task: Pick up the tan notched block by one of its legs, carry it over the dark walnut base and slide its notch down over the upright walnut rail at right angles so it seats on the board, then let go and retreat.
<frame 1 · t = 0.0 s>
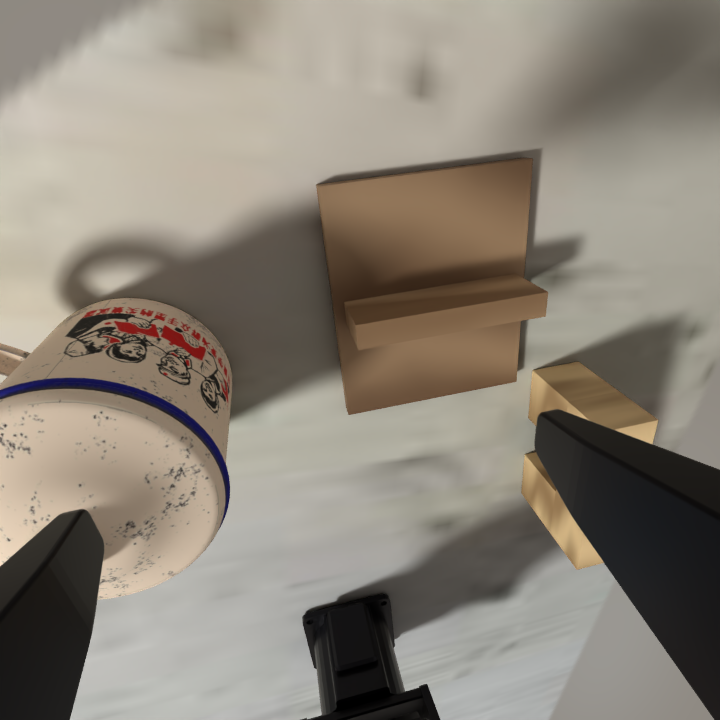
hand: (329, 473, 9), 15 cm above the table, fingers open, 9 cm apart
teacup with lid: (114, 363, 22), on the table
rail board: (427, 293, 24), on the table
tan notched block: (547, 431, 30), on the table
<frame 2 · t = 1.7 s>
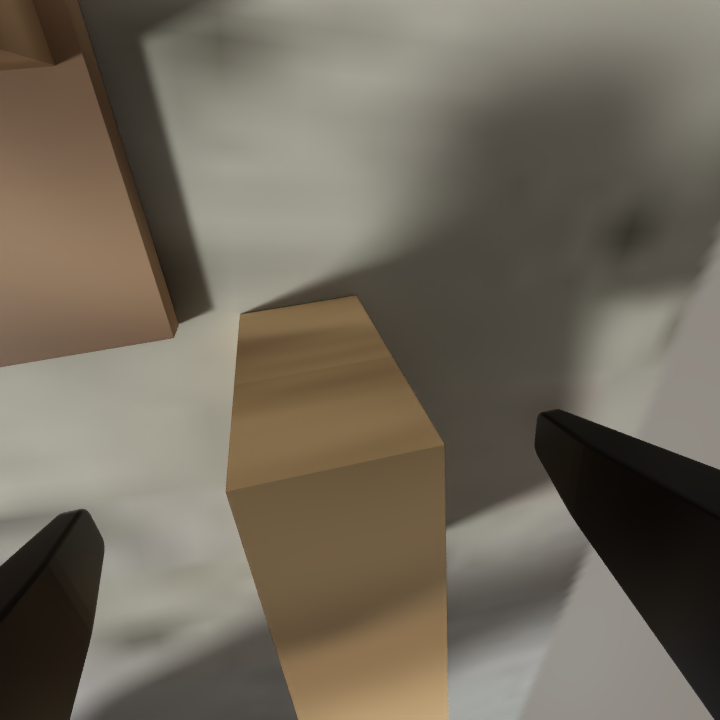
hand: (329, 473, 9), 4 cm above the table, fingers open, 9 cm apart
tan notched block: (325, 456, 14), on the table
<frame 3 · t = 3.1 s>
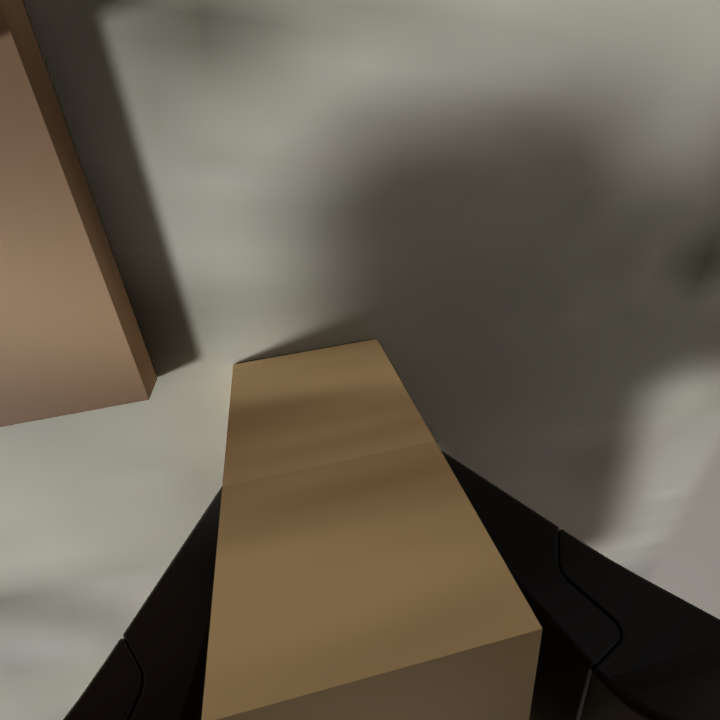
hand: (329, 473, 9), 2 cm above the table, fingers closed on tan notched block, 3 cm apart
tan notched block: (336, 522, 12), on the table, touching gripper
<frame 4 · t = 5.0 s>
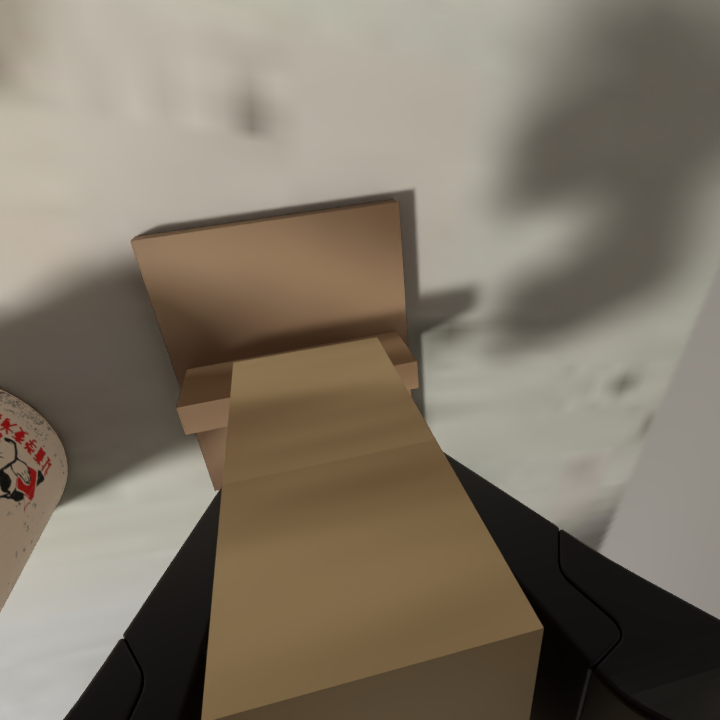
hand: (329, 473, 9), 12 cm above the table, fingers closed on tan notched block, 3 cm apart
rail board: (295, 354, 21), on the table
tan notched block: (335, 521, 12), point 10 cm above the table, touching gripper
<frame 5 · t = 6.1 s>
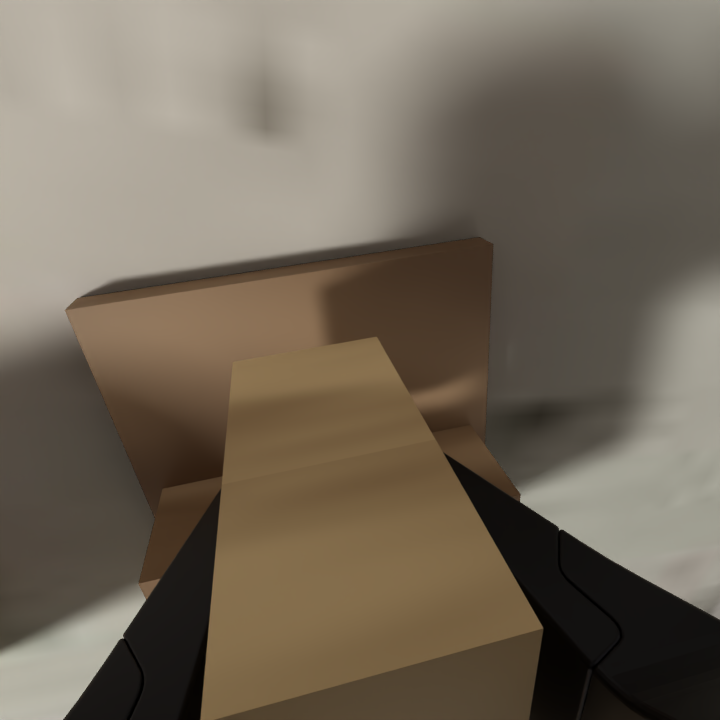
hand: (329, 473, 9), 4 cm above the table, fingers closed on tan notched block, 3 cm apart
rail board: (322, 454, 14), on the table
tan notched block: (335, 520, 12), point 3 cm above the table, touching gripper
when the fingers open (3 cm above the table, at t = 7.0 s): tan notched block stays where it is, resting on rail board.
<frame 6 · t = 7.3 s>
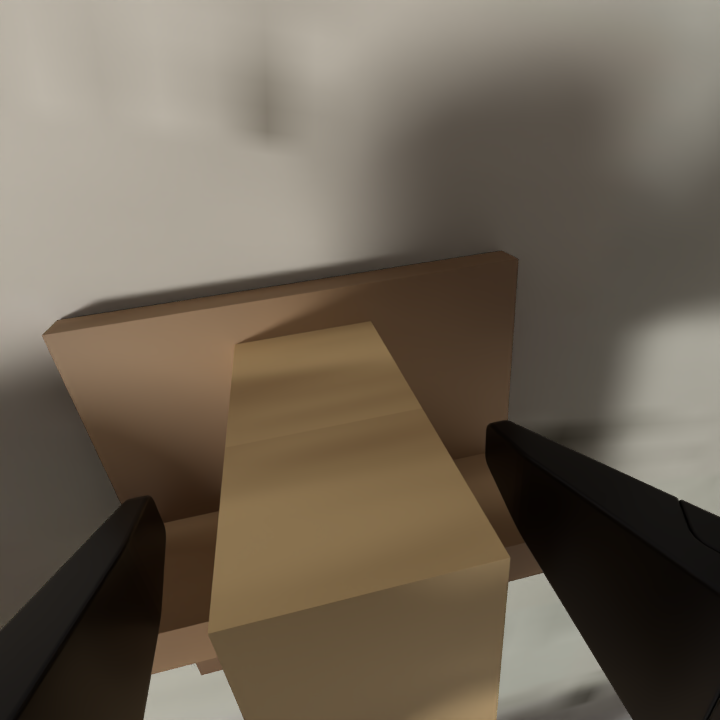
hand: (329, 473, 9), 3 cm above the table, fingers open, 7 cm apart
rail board: (328, 483, 13), on the table
tan notched block: (332, 500, 12), point 1 cm above the table, touching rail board
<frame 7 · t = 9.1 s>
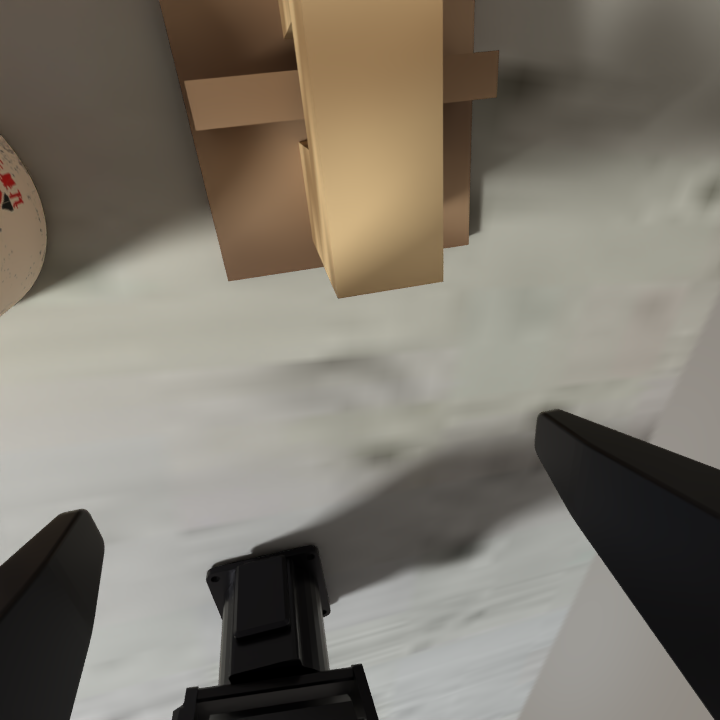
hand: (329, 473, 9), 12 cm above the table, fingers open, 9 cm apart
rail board: (331, 93, 16), on the table
tan notched block: (335, 88, 16), point 1 cm above the table, touching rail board
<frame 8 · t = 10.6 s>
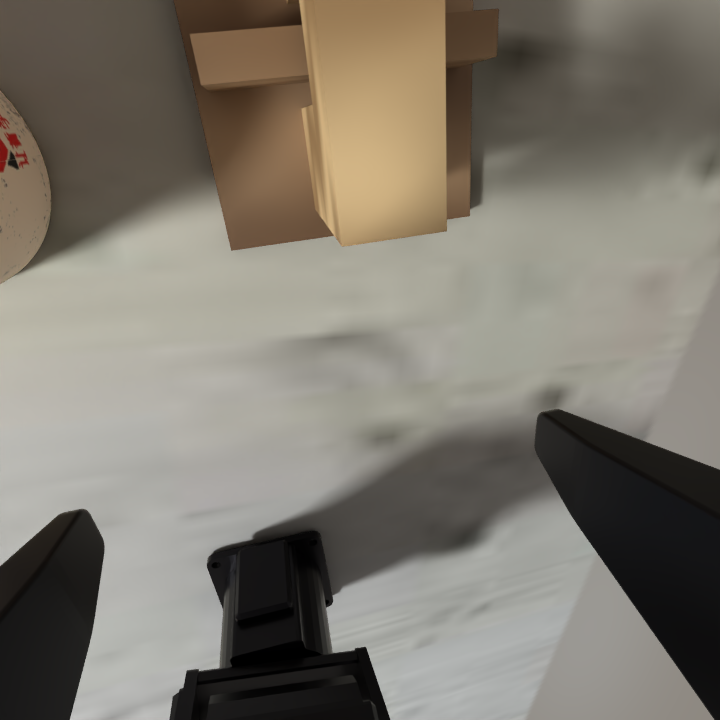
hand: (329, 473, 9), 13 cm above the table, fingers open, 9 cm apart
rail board: (333, 61, 17), on the table
tan notched block: (337, 55, 16), point 1 cm above the table, touching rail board
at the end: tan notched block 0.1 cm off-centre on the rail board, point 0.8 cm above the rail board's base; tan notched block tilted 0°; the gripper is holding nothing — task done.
